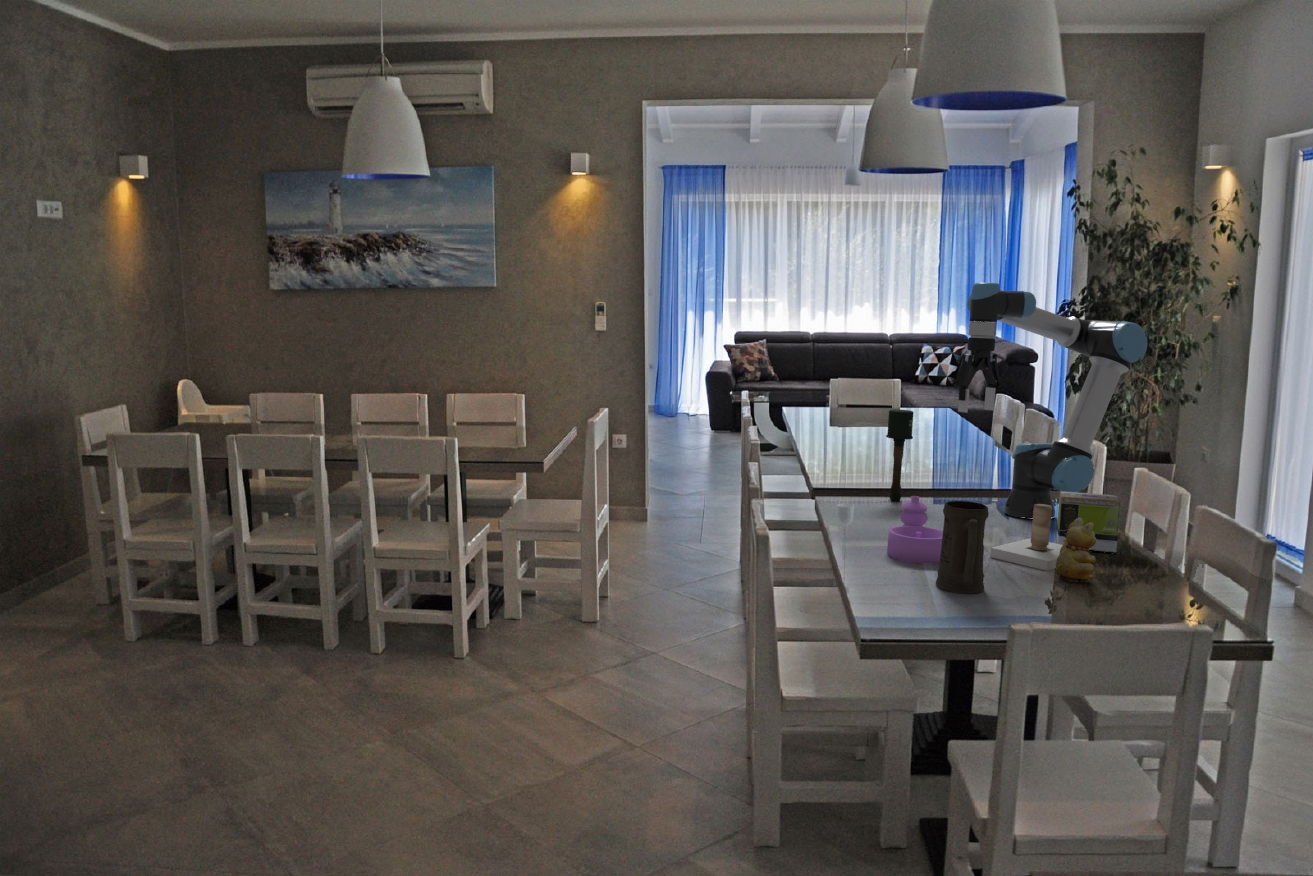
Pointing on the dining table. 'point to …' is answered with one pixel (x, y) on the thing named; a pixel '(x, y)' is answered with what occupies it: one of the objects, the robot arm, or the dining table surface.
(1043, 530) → the oak peg
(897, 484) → the stick grenade
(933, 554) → the container set
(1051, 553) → the hole board
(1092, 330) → the robot arm
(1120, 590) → the dining table surface
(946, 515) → the beer stein
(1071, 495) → the tea box
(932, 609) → the dining table surface
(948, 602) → the dining table surface
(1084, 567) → the decorative figurine
